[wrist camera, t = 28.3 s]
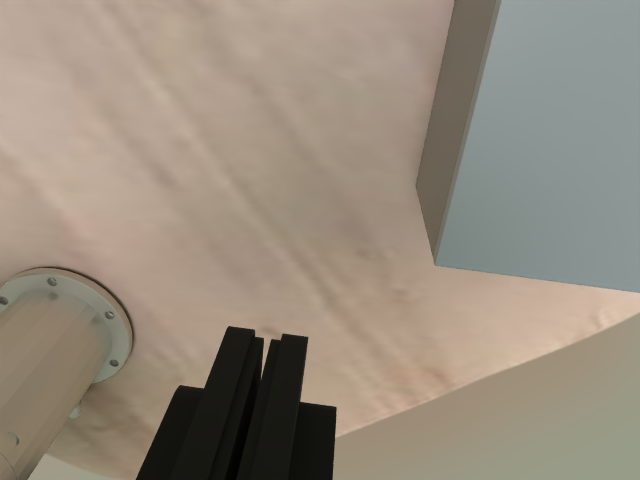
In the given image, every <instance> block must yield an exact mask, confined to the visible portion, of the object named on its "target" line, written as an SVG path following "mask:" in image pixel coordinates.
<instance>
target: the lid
mask: <svg viewBox="0 0 640 480" xmlns="http://www.w3.org/2000/svg"><path fill="white" fill-rule="evenodd" d="M433 259H434V263H435V266H442V267H450V268H457V269H465V270H472V271H480V272H487V273H495V274H502V275H509V276H517V277H524V278H532V279H539V280H547V281H554V282H562V283H569V284H577V285H584V286H592V287H599V288H607V289H614V290H622V291H629V292H637V293H640V0H496V3H495V7H494V11H493V15H492V19H491V23H490V27H489V31H488V35H487V39H486V44H485V48H484V52H483V56H482V60H481V64H480V68H479V72H478V76H477V80H476V84H475V88H474V92H473V96H472V100H471V104H470V108H469V112H468V117H467V121H466V125H465V129H464V133H463V137H462V141H461V145H460V149H459V153H458V157H457V161H456V165H455V169H454V173H453V177H452V181H451V185H450V189H449V194H448V198H447V202H446V206H445V210H444V214H443V218H442V222H441V226H440V230H439V234H438V238H437V242H436V246H435V250H434V254H433Z"/></svg>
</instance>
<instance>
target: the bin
mask: <svg viewBox="0 0 640 480" xmlns="http://www.w3.org/2000/svg"><path fill="white" fill-rule="evenodd" d="M495 3H496V0H455V3H454V8H453V13H452V17H451V22H450V27H449V32H448V36H447V41H446V46H445V50H444V55H443V60H442V64H441V69H440V74H439V79H438V83H437V88H436V93H435V97H434V102H433V107H432V111H431V116H430V121H429V125H428V130H427V135H426V140H425V144H424V149H423V154H422V158H421V163H420V168H419V172H418V177H417V182H416V189H417V193H418V197H419V201H420V205H421V210H422V214H423V218H424V222H425V226H426V230H427V234H428V239H429V243H430V247H431V251H432V255H433V254H434V250H435V246H436V242H437V238H438V234H439V230H440V226H441V222H442V218H443V214H444V210H445V206H446V202H447V198H448V194H449V189H450V185H451V181H452V177H453V173H454V169H455V165H456V161H457V157H458V153H459V149H460V145H461V141H462V137H463V133H464V129H465V125H466V121H467V117H468V112H469V108H470V104H471V100H472V96H473V92H474V88H475V84H476V80H477V76H478V72H479V68H480V64H481V60H482V56H483V52H484V48H485V44H486V39H487V35H488V31H489V27H490V23H491V19H492V15H493V11H494V7H495Z"/></svg>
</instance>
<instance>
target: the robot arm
mask: <svg viewBox="0 0 640 480" xmlns="http://www.w3.org/2000/svg"><path fill="white" fill-rule="evenodd" d="M132 342H133V340H132V330H131V326H130V323H129V320H128V318H127V316H126V314H125V312H124V311H123V309H122V308H121V306H120V305H119V304H118V302H117V301H116V300H115V299H114V298H113V297H112V296H111V295H110V294H109V293H108V292H107V291H106V290H105V289H103V288H102V287H100V286H99V285H97V284H96V283H95V282H93V281H91V280H89V279H87V278H85V277H83V276H81V275H78V274H75V273H72V272H69V271H66V270H60V269H55V268H37V269H32V270H27V271H24V272H22V273H19V274H17V275H16V276H14V277H13V278H11V279H10V280H9V281H8V282H7V283H5V284H4V285H3V286H2V287H1V288H0V480H27V479H28V478H29V476H30V475H31V473H32V472H33V470H34V469H35V467H36V466H37V464H38V463H39V461H40V460H41V458H42V456H43V455H44V454H45V452H46V451H47V449H48V448H49V446H50V445H51V443H52V442H53V440H54V438H55V437H56V435H57V434H58V432H59V431H60V429H61V428H62V426H63V425H64V423H65V422H66V420H67V419H68V418H76V417H79V416H80V415H81V413H82V407H81V401H80V400H81V398H82V397H83V395H84V394H85V392H86V391H87V389H88V388H89V386H90V385H91V384H93V383H97V382H101V381H104V380H106V379H108V378H110V377H111V376H113V375H114V374H116V373H117V372H118V371H119V370H120V369H121V368H122V366H123V364H124V363H125V361H126V360H127V358H128V356H129V354H130V352H131V347H132ZM307 344H308V337H304V336H297V335H290V334H282V338H281V340H274V339H271V342H270V346H269V350H268V354H267V358H266V362H265V366H264V370H263V374H262V378H261V372H262V359H263V346H264V338H259V337H255V330H253V329H246V328H238V327H231V326H229V327H228V328H227V330H226V332H225V335H224V338H223V340H222V343H221V346H220V348H219V351H218V353H217V356H216V359H215V361H214V364H213V366H212V369H211V372H210V374H209V377H208V380H207V382H206V385H205V387H204V389H203V388H196V387H189V386H182V385H180V386H179V387H178V388H177V390H176V391H175V393H174V395H173V397H172V400H171V402H170V404H169V406H168V409H167V411H166V413H165V415H164V418H163V420H162V422H161V424H160V427H159V429H158V431H157V433H156V435H155V438H154V440H153V442H152V444H151V447H150V449H149V451H148V453H147V456H146V458H145V460H144V462H143V465H142V467H141V469H140V471H139V473H138V476H137V478H136V480H332V478H333V460H334V445H335V429H336V407H333V406H326V405H319V404H311V403H304V402H300V399H301V391H302V383H303V375H304V367H305V360H306V352H307Z"/></svg>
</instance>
